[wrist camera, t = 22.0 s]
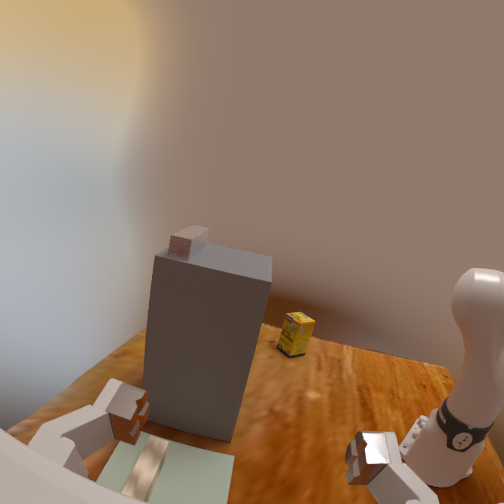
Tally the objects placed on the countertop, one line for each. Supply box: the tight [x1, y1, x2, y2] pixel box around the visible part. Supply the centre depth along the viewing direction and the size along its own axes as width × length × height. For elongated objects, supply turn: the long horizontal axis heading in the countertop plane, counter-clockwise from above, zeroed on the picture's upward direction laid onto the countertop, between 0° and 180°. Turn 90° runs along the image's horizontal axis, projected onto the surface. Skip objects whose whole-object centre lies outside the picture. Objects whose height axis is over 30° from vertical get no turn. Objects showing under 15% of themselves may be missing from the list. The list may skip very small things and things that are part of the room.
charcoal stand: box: [143, 242, 272, 442], centre depth 52 cm, size 16×16×30 cm
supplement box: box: [277, 312, 315, 358], centre depth 85 cm, size 6×6×11 cm
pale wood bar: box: [168, 225, 209, 261], centre depth 48 cm, size 12×3×3 cm, turn 176°
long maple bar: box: [121, 435, 169, 502], centre depth 31 cm, size 20×3×3 cm
